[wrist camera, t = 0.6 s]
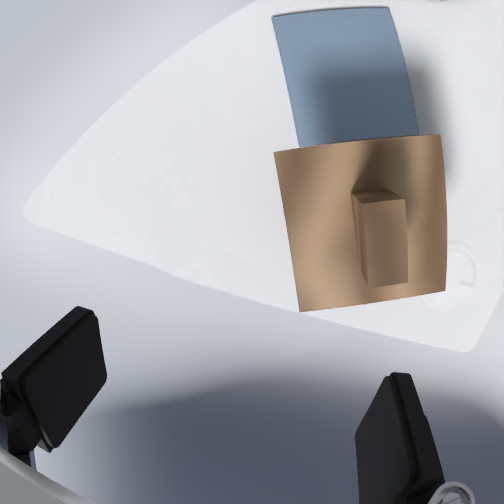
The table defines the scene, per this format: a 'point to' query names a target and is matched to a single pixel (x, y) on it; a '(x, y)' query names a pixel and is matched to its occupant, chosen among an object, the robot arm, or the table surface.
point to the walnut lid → (365, 220)
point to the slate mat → (345, 75)
